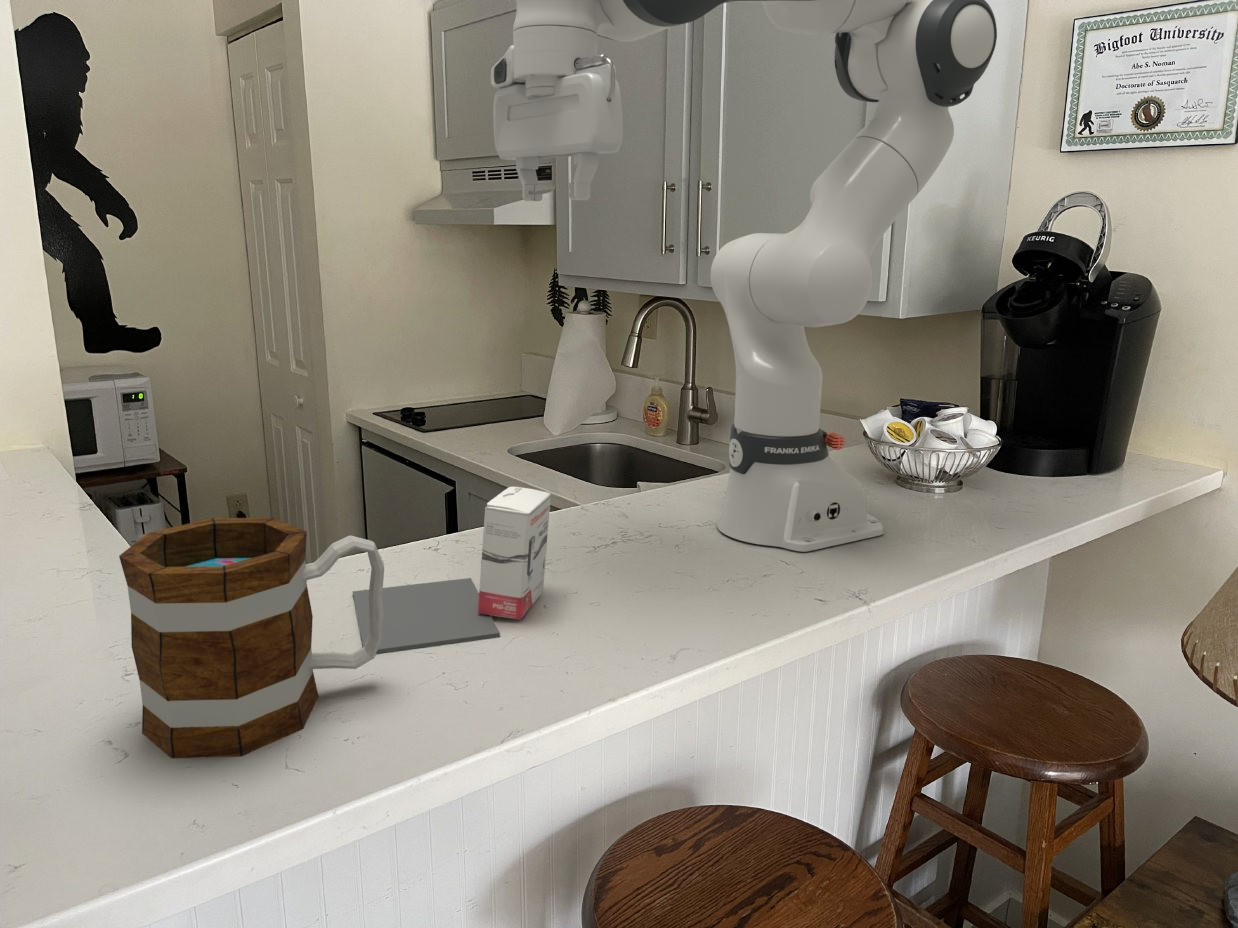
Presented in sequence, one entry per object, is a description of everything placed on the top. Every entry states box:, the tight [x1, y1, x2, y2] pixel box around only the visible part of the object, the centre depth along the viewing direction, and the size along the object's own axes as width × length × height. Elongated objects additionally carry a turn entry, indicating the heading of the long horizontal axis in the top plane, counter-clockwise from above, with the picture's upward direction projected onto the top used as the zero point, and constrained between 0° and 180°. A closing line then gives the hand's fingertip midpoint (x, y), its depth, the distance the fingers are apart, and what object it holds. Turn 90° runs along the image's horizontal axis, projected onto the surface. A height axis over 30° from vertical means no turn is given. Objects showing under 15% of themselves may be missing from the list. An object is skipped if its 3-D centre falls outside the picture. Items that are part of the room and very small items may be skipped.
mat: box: [352, 577, 501, 655], centre depth 94 cm, size 13×15×1 cm
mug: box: [118, 517, 385, 759], centre depth 74 cm, size 20×14×15 cm
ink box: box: [478, 486, 552, 621], centre depth 95 cm, size 9×5×12 cm, turn 169°
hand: (555, 201), depth 98 cm, fingers open, 8 cm apart
